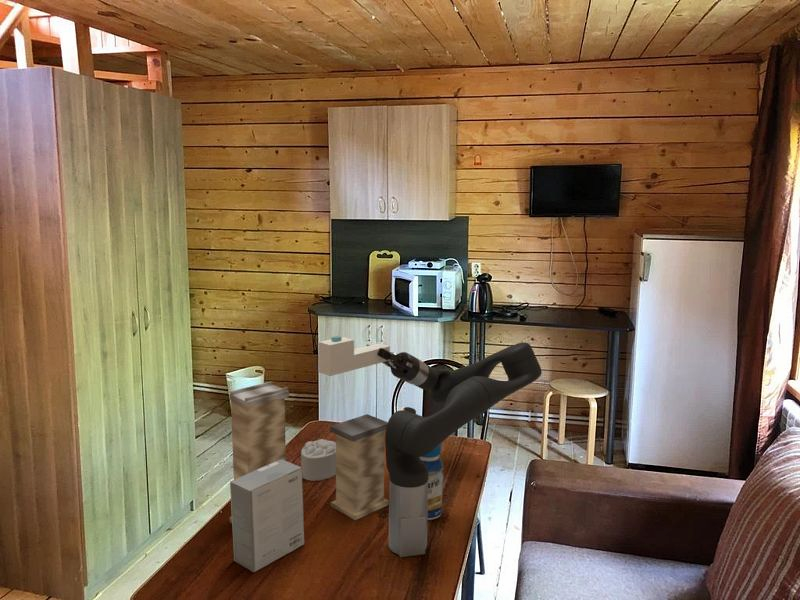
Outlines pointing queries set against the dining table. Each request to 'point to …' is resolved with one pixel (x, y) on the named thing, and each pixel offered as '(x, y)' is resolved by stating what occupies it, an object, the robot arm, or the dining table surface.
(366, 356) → the breaker module
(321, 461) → the lumpy-topped squat cylinder
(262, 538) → the hard drive box
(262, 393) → the stand
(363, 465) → the lower stand
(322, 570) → the dining table surface
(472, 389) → the robot arm
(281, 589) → the dining table surface
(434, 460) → the beverage bottle
